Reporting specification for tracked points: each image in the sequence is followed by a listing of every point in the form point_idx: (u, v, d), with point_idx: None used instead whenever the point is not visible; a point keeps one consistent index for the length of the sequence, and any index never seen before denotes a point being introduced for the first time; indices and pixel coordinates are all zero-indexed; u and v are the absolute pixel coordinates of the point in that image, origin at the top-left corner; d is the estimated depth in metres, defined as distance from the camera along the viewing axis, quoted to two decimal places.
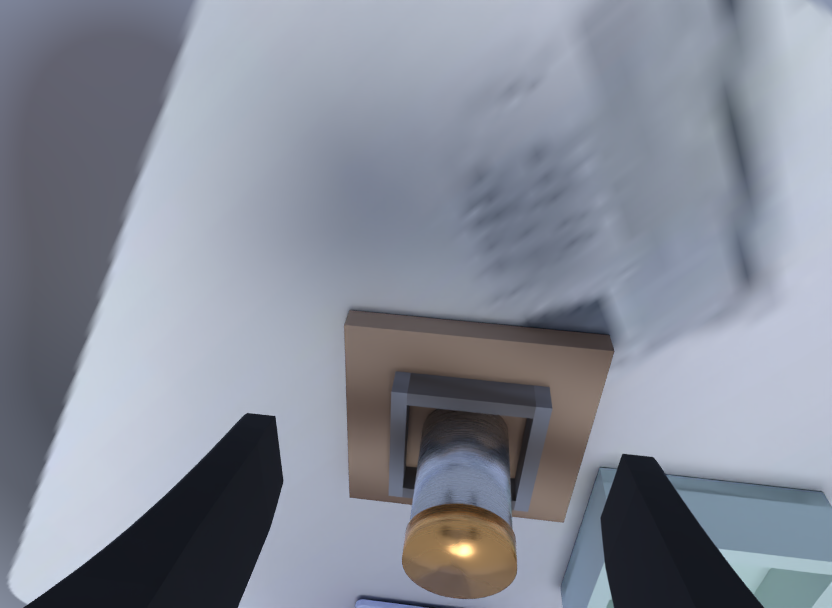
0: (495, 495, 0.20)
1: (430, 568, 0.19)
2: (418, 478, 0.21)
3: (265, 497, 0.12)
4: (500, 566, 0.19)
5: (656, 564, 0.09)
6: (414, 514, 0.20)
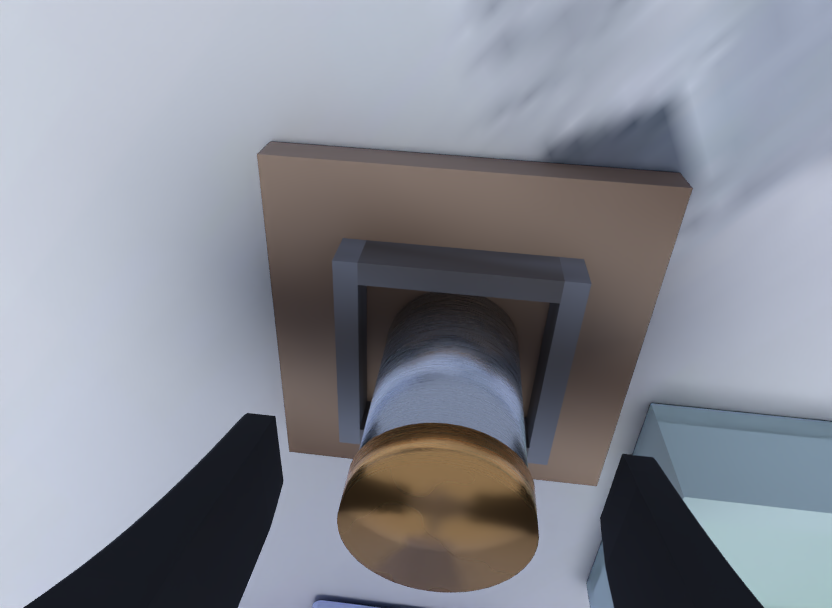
0: (500, 415, 0.11)
1: (387, 538, 0.11)
2: (374, 397, 0.13)
3: (265, 497, 0.12)
4: (510, 533, 0.11)
5: (656, 564, 0.09)
6: (362, 448, 0.12)
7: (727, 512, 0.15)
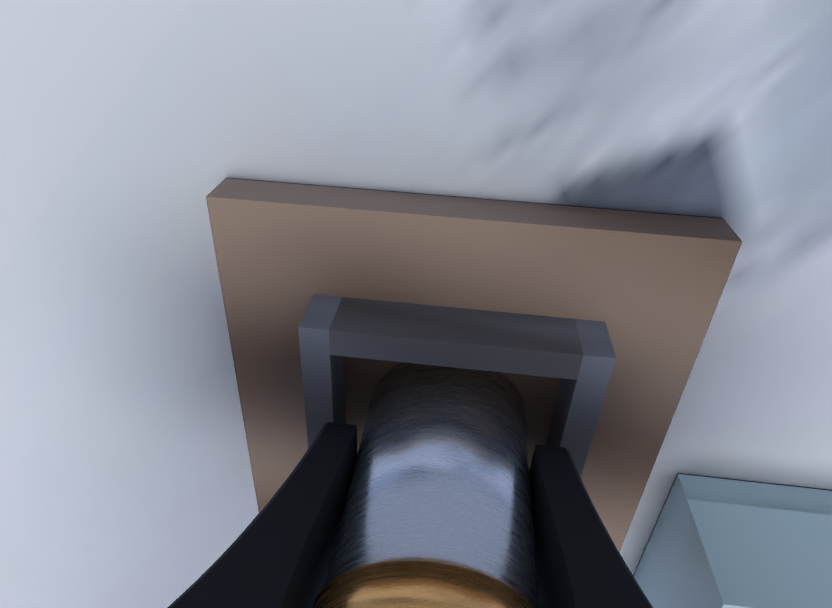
0: (503, 538, 0.09)
1: None
2: (348, 498, 0.11)
3: None
4: None
5: (551, 552, 0.09)
6: (329, 578, 0.09)
7: None
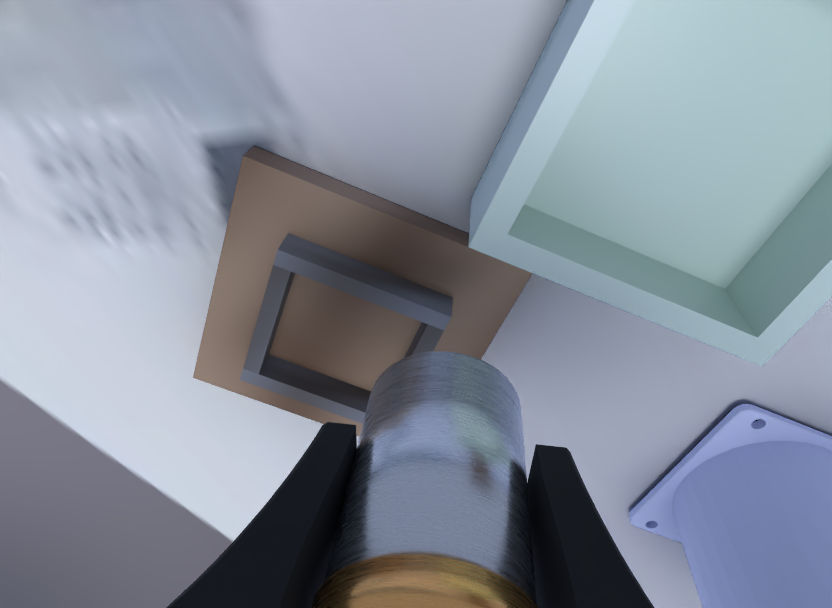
0: (503, 535, 0.09)
1: None
2: (349, 492, 0.11)
3: None
4: None
5: (552, 551, 0.09)
6: (331, 571, 0.09)
7: (500, 216, 0.15)
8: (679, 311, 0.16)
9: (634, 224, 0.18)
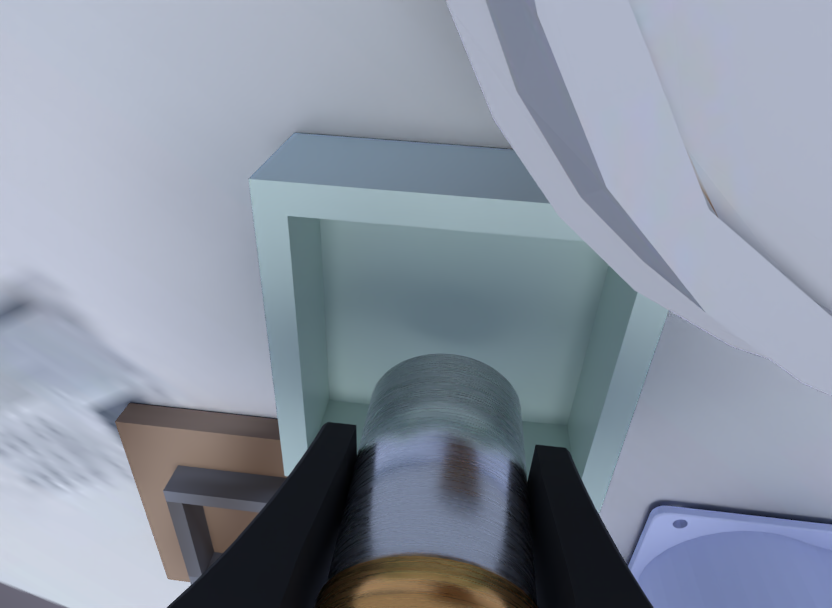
0: (511, 540, 0.09)
1: None
2: (354, 489, 0.11)
3: None
4: None
5: (552, 551, 0.09)
6: (337, 567, 0.09)
7: (294, 450, 0.17)
8: None
9: None
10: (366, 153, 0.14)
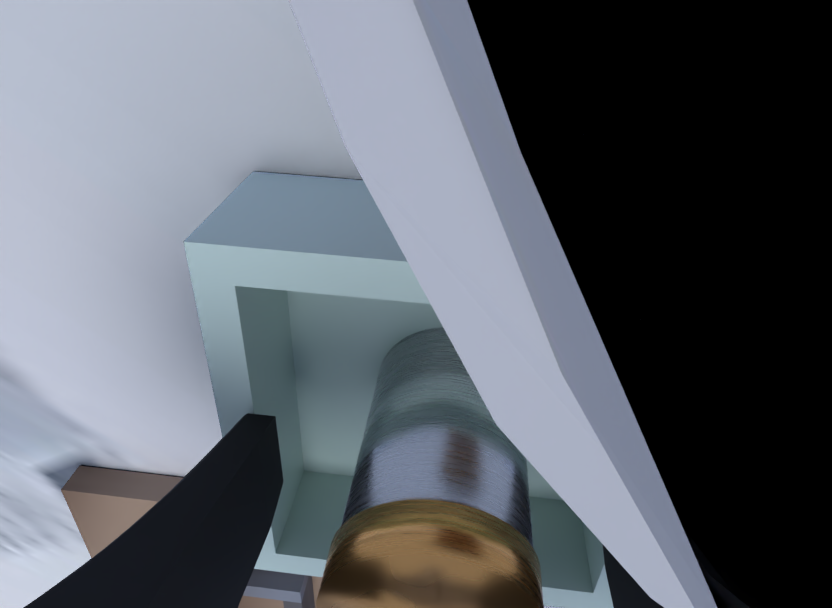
0: (509, 491, 0.10)
1: None
2: (365, 448, 0.11)
3: (265, 497, 0.12)
4: None
5: None
6: (350, 514, 0.10)
7: None
8: None
9: None
10: (337, 200, 0.12)
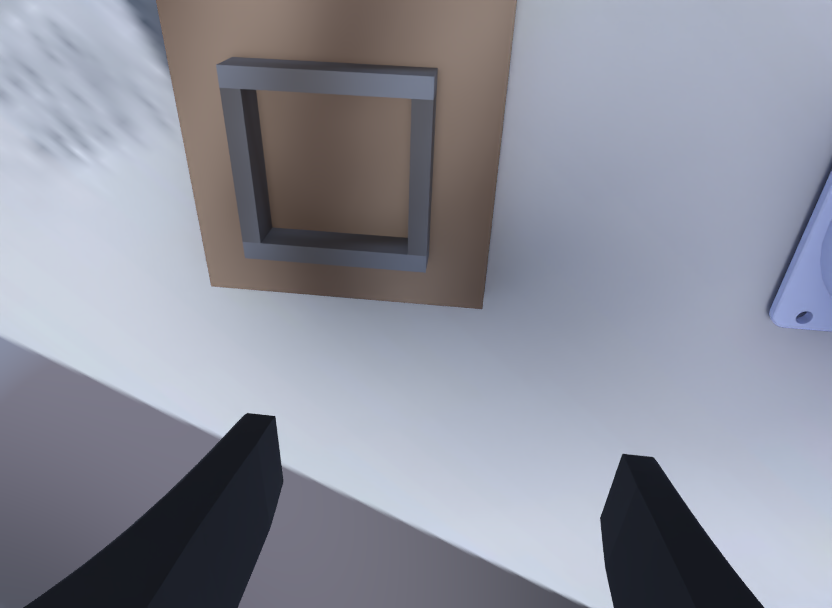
0: None
1: None
2: None
3: (265, 497, 0.12)
4: None
5: (656, 564, 0.09)
6: None
7: None
8: None
9: None
10: None
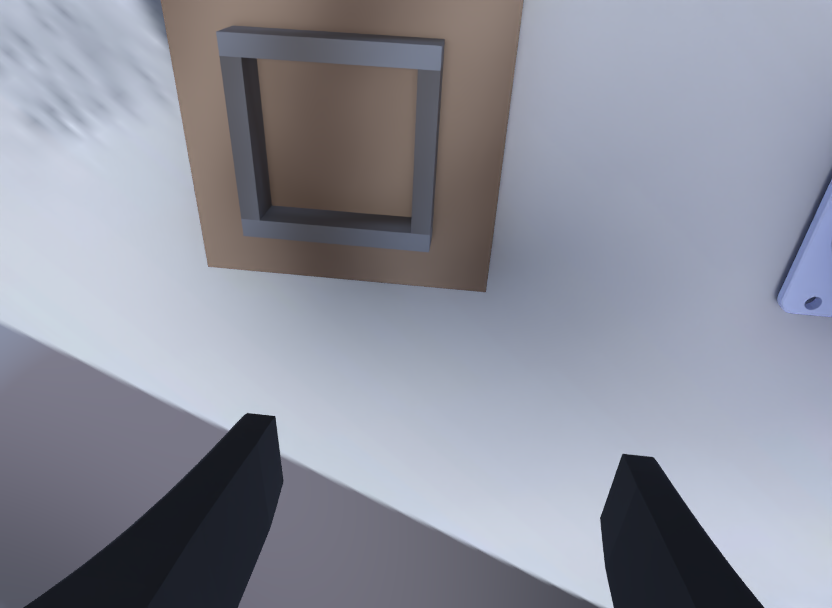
0: None
1: None
2: None
3: (265, 497, 0.12)
4: None
5: (656, 564, 0.09)
6: None
7: None
8: None
9: None
10: None
